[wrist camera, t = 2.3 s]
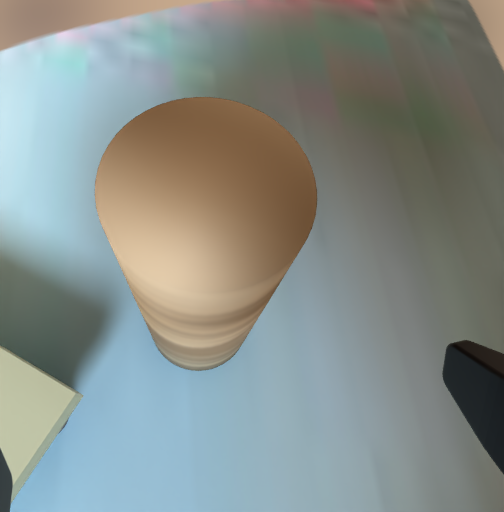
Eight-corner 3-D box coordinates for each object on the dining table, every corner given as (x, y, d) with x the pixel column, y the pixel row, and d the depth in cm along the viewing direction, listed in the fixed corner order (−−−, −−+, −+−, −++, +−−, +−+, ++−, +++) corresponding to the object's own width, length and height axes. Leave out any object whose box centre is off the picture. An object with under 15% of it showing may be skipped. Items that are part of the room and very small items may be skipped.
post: (216, 389, 20) (253, 337, 8) (131, 339, 20) (46, 218, 8) (263, 305, 21) (350, 159, 10) (183, 260, 21) (174, 65, 10)
